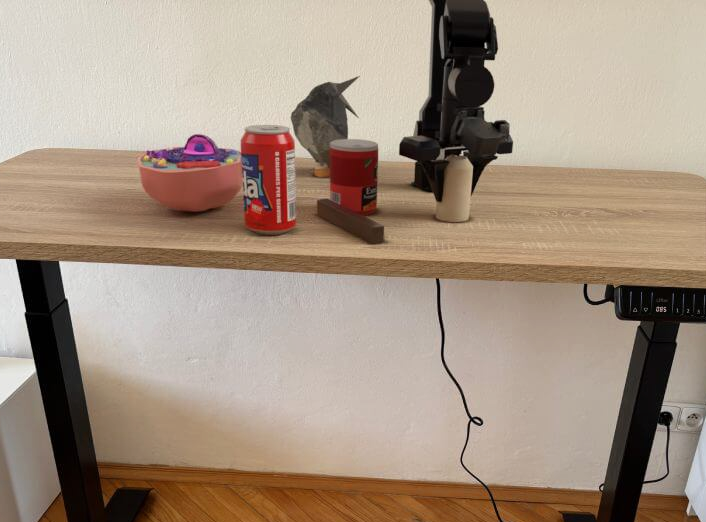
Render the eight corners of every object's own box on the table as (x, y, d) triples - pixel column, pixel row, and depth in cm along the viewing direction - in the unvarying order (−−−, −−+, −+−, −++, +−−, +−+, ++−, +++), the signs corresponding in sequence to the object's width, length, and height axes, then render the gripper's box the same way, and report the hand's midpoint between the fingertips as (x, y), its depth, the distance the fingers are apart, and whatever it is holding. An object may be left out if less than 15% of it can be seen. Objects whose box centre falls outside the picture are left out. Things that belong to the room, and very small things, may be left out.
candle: (445, 223, 127) (449, 160, 122) (429, 215, 131) (433, 153, 126) (474, 220, 129) (480, 158, 124) (458, 212, 133) (463, 152, 128)
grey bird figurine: (275, 171, 157) (271, 74, 149) (334, 162, 167) (334, 71, 158) (319, 184, 148) (318, 82, 140) (378, 174, 158) (381, 78, 149)
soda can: (301, 235, 118) (299, 131, 111) (248, 238, 116) (243, 132, 109) (291, 221, 125) (288, 123, 117) (241, 224, 122) (236, 123, 115)
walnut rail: (327, 213, 130) (327, 198, 129) (383, 242, 116) (384, 225, 115) (317, 214, 129) (316, 199, 128) (372, 243, 115) (372, 227, 114)
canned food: (371, 218, 128) (372, 148, 123) (324, 214, 130) (324, 145, 124) (381, 207, 135) (383, 140, 130) (336, 203, 136) (336, 137, 131)
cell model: (115, 215, 125) (105, 142, 119) (186, 190, 141) (181, 124, 136) (206, 229, 119) (200, 153, 114) (269, 201, 136) (267, 133, 130)
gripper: (441, 108, 111) (434, 217, 118) (541, 103, 119) (529, 205, 127) (399, 98, 119) (395, 201, 126) (495, 94, 128) (486, 190, 135)
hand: (453, 199), depth 128 cm, fingers closed on candle, 5 cm apart
